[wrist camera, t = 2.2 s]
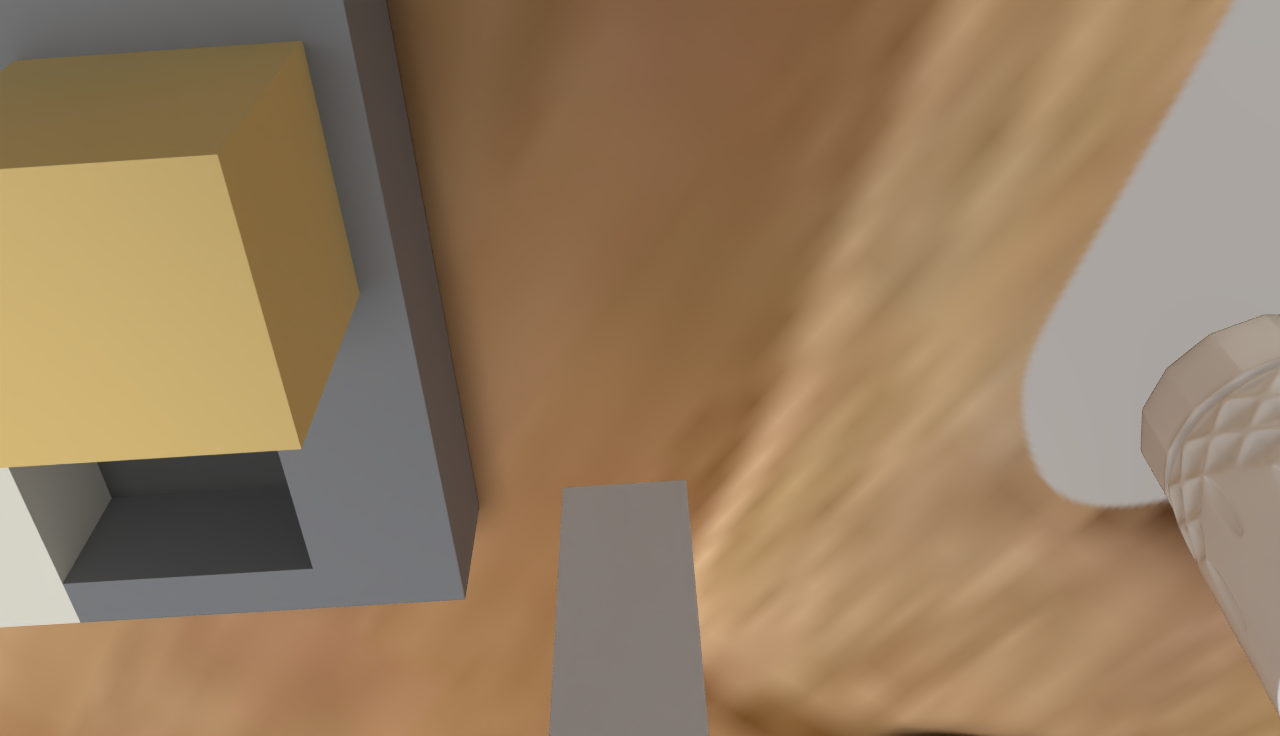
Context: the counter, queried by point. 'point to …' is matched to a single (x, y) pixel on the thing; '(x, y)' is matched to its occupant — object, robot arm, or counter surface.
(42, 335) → the ochre cube
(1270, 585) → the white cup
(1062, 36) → the counter surface
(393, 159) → the tray
